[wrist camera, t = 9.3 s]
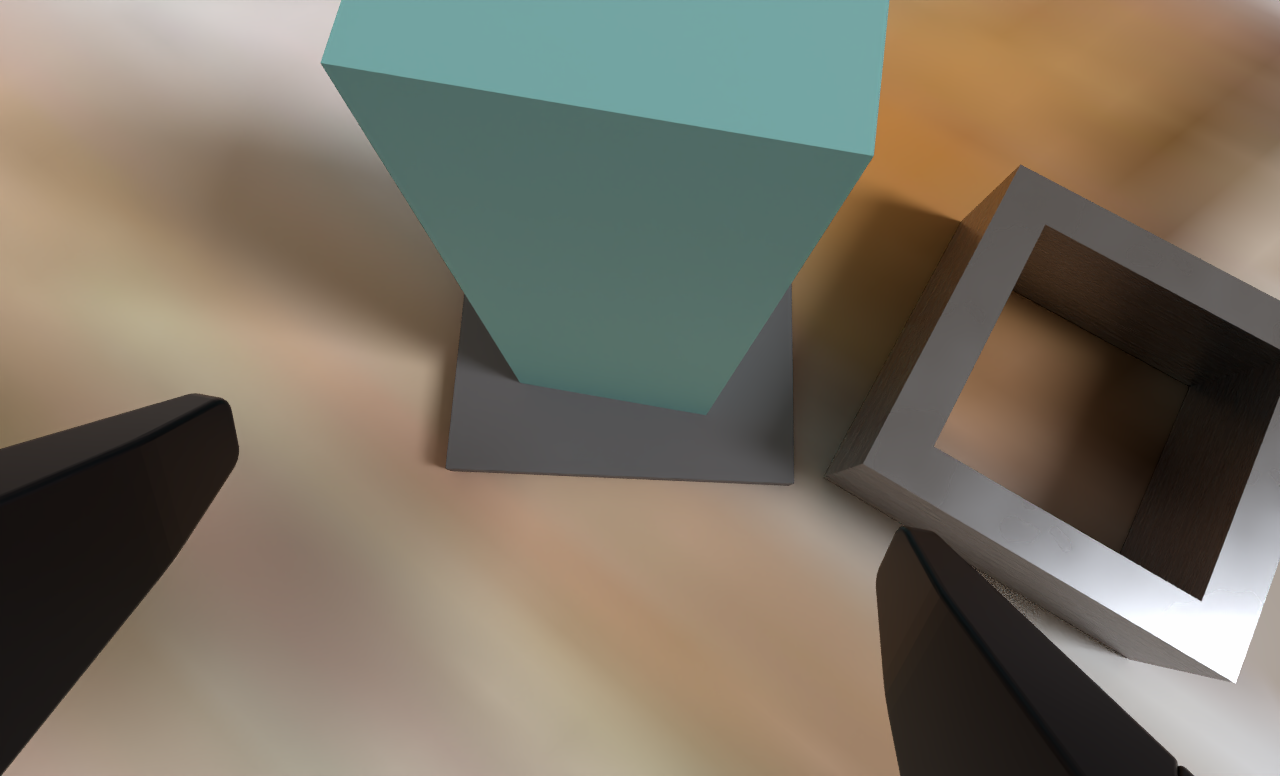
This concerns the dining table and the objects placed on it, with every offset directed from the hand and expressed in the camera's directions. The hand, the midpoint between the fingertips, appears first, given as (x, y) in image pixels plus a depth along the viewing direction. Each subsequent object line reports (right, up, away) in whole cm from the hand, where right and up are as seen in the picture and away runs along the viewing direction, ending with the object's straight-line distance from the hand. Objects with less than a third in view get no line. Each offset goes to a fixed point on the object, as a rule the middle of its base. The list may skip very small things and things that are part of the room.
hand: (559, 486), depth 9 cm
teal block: (+1, +3, +9) cm, 10 cm away
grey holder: (+12, 0, +9) cm, 15 cm away
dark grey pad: (+1, +3, +10) cm, 10 cm away
